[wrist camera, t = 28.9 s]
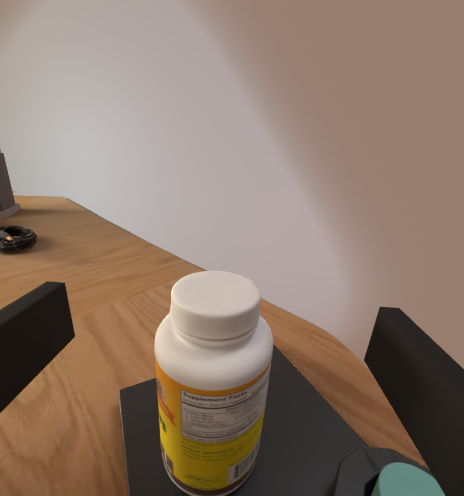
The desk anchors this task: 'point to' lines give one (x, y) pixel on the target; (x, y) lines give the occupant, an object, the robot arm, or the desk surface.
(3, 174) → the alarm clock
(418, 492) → the button
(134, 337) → the desk surface
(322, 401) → the scale
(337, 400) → the desk surface
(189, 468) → the supplement bottle
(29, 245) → the computer mouse
